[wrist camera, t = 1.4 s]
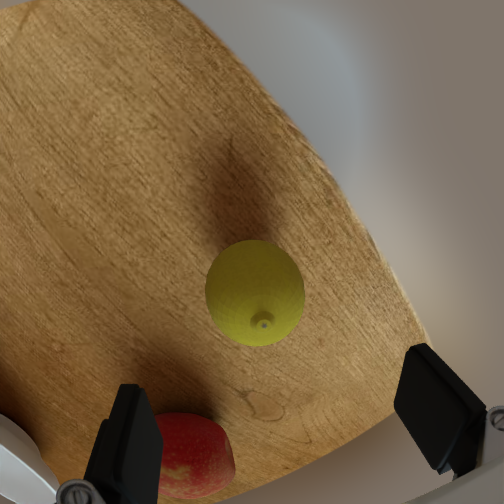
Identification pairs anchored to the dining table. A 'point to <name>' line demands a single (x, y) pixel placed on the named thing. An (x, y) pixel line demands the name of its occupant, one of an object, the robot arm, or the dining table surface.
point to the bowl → (23, 468)
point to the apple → (193, 456)
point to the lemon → (255, 293)
